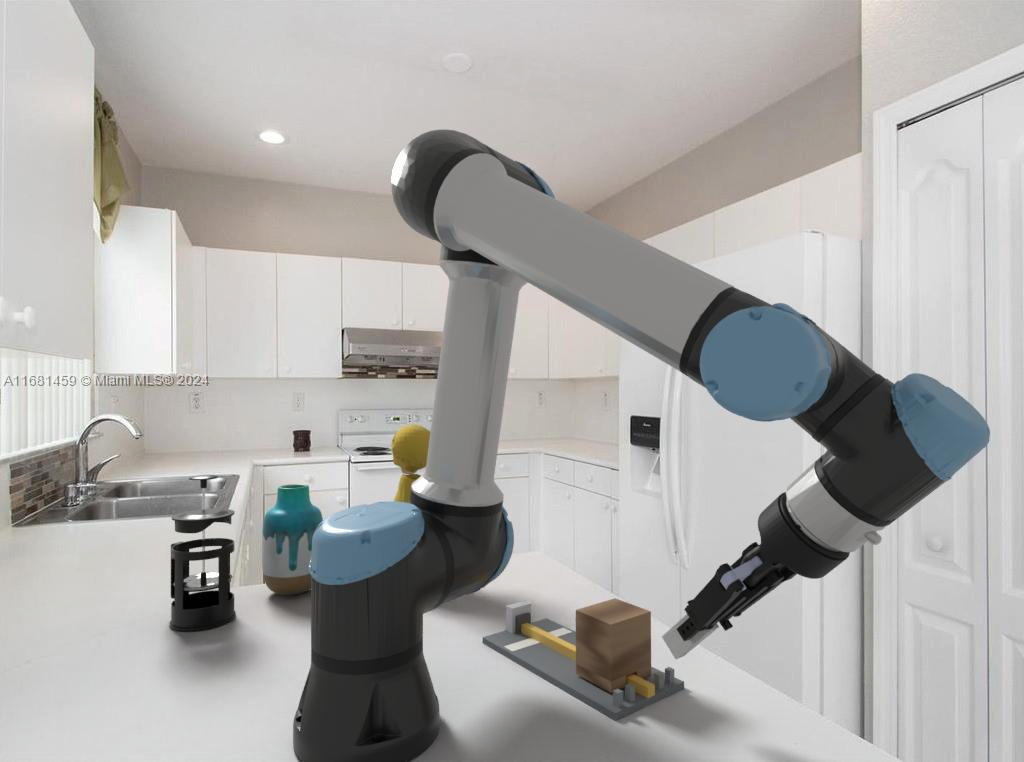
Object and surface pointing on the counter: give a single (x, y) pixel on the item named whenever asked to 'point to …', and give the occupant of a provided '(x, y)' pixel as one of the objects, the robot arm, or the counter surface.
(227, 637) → the counter surface
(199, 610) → the french press
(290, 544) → the vase
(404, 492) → the toy
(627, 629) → the cardboard box
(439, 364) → the robot arm
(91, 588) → the counter surface
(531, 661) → the sliding block track
